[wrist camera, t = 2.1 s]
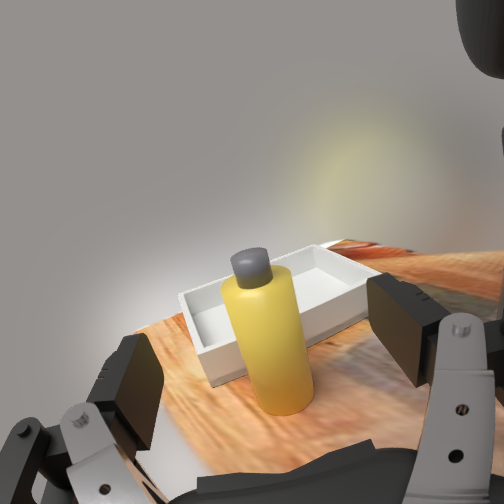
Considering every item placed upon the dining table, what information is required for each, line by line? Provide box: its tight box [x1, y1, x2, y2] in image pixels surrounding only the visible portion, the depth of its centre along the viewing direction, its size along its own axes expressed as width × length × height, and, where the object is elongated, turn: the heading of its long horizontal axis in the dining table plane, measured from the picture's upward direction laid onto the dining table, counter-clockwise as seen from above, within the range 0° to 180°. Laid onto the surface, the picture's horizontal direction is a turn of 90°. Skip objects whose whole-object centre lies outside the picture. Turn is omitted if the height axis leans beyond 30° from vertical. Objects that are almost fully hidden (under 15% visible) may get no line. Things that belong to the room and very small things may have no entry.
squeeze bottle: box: [220, 248, 314, 416], centre depth 24 cm, size 5×5×14 cm
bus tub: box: [177, 244, 382, 388], centre depth 38 cm, size 22×16×4 cm
